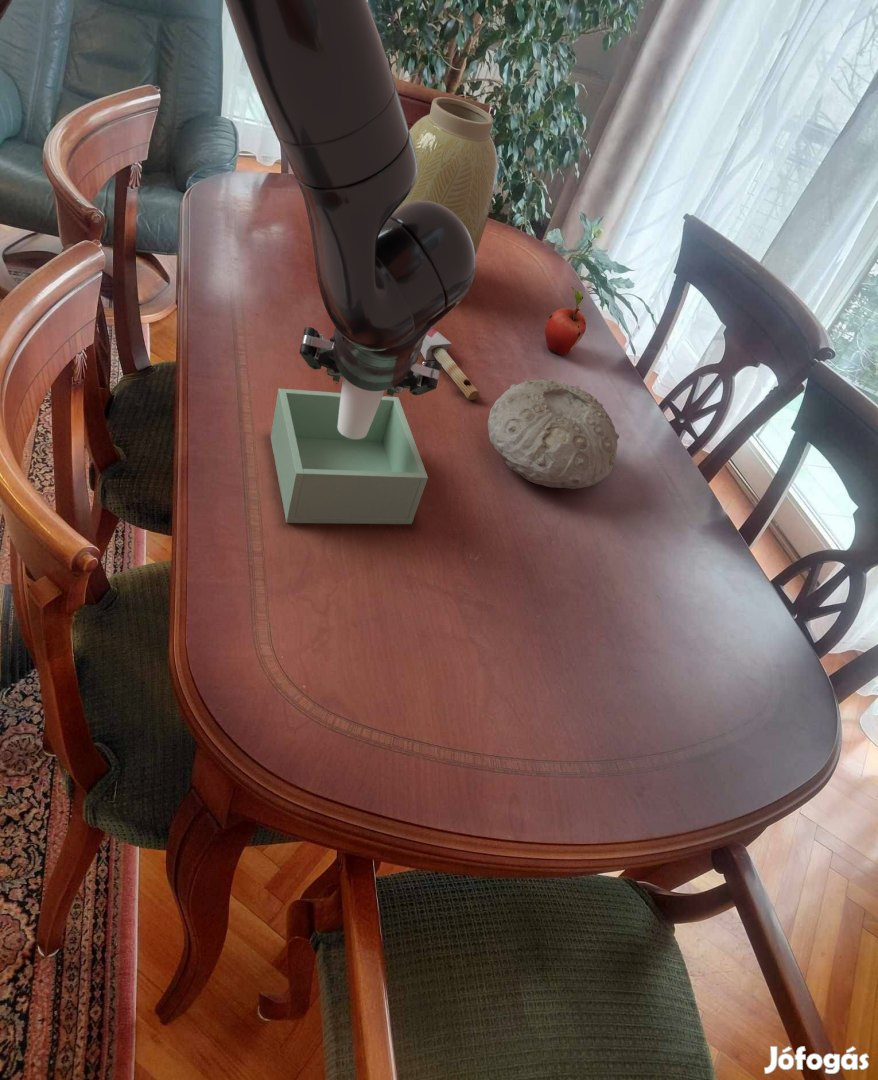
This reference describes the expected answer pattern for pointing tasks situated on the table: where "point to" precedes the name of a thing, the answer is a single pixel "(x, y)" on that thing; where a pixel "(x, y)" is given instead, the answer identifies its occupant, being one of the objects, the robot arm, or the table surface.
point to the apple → (565, 328)
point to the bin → (344, 463)
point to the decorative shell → (553, 434)
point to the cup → (357, 410)
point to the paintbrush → (446, 361)
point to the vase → (456, 162)
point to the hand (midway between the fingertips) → (364, 379)
